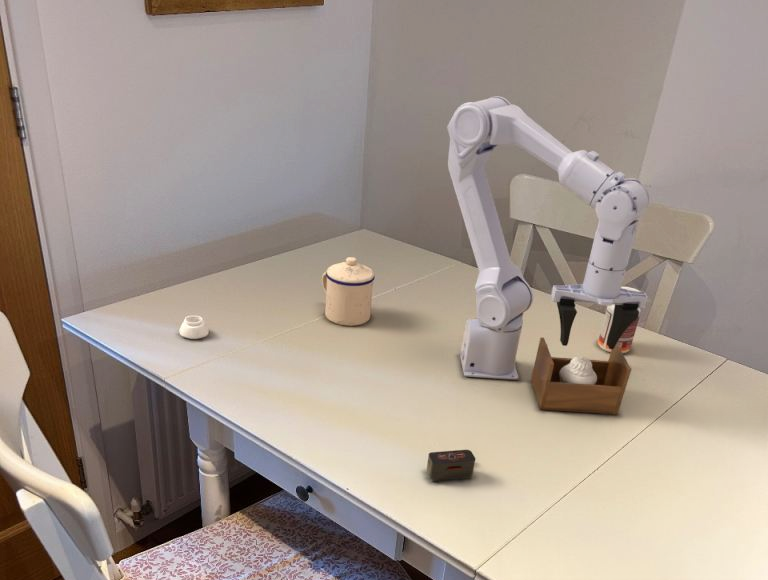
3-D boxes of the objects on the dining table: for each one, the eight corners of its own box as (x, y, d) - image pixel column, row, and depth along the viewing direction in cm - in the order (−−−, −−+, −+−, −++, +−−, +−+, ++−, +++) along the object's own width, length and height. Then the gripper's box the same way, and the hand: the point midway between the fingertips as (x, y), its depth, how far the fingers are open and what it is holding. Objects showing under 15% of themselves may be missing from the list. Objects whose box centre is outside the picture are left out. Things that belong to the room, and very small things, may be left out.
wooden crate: (617, 414, 129) (631, 369, 124) (539, 409, 128) (550, 364, 123) (604, 386, 136) (617, 342, 131) (530, 381, 135) (540, 337, 130)
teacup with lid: (380, 319, 151) (386, 261, 145) (346, 331, 146) (349, 271, 139) (339, 297, 158) (342, 241, 151) (304, 308, 152) (306, 250, 146)
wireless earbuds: (478, 478, 111) (482, 460, 109) (430, 483, 109) (433, 464, 107) (467, 459, 114) (471, 441, 112) (421, 463, 112) (423, 445, 111)
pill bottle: (636, 351, 149) (653, 295, 143) (614, 357, 146) (630, 301, 140) (612, 337, 153) (627, 283, 147) (590, 343, 150) (604, 288, 144)
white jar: (204, 342, 137) (212, 330, 141) (203, 326, 136) (211, 315, 140) (175, 338, 137) (184, 326, 141) (174, 323, 136) (183, 311, 140)
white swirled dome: (555, 400, 129) (564, 363, 125) (554, 382, 134) (563, 346, 130) (592, 406, 129) (603, 369, 125) (590, 388, 134) (601, 351, 130)
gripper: (566, 270, 115) (547, 352, 122) (662, 277, 116) (637, 359, 123) (556, 252, 121) (539, 332, 128) (648, 260, 121) (625, 339, 129)
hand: (586, 344), depth 126 cm, fingers open, 7 cm apart
